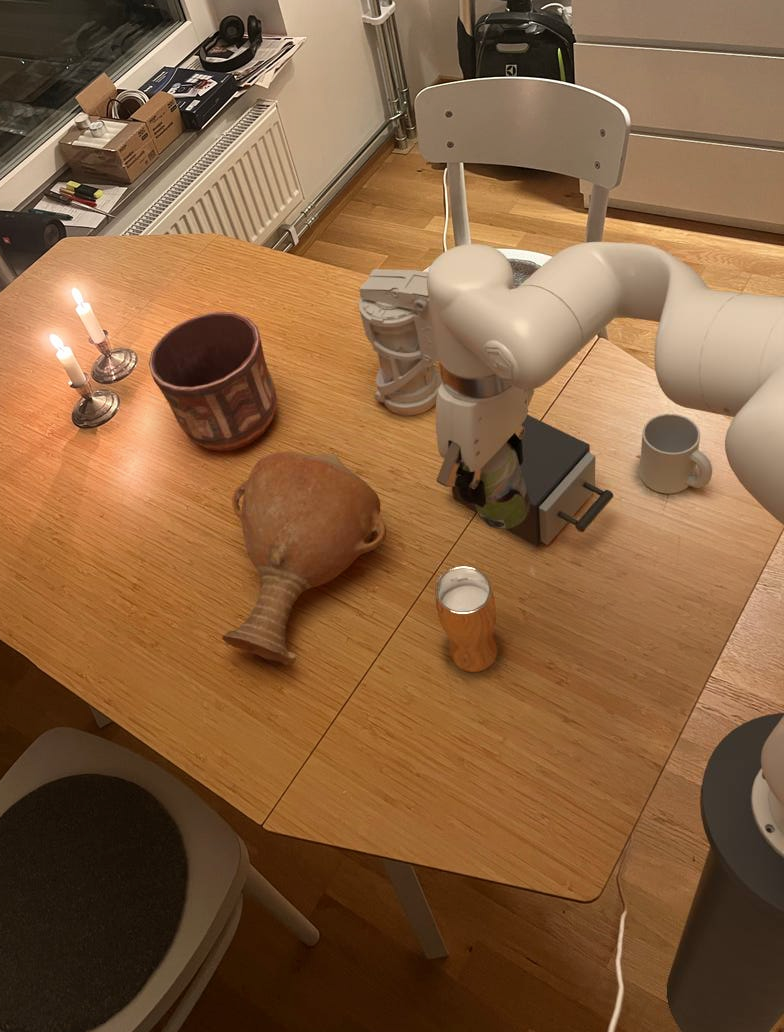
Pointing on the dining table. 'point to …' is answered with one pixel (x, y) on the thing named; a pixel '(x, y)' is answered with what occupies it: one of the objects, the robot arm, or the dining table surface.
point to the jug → (299, 537)
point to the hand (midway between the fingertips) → (491, 478)
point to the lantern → (401, 339)
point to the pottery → (216, 379)
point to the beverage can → (503, 490)
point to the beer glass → (468, 616)
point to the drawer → (571, 500)
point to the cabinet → (541, 470)
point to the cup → (672, 455)
